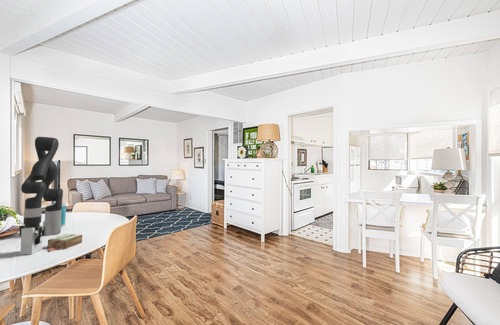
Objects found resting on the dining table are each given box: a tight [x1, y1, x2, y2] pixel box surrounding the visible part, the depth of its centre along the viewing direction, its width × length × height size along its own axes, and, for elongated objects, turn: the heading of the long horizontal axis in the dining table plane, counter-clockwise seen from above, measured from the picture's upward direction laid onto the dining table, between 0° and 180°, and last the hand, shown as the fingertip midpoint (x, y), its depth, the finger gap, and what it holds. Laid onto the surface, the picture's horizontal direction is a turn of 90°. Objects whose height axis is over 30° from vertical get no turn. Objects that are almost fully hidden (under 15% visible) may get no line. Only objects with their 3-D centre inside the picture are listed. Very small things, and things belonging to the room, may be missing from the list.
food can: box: [46, 203, 67, 228], centre depth 181 cm, size 12×12×18 cm
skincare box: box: [19, 224, 43, 256], centre depth 130 cm, size 8×6×15 cm
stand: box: [47, 233, 83, 250], centre depth 142 cm, size 12×12×5 cm
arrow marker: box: [47, 247, 58, 252], centre depth 134 cm, size 6×3×1 cm, turn 175°
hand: (31, 243), depth 130 cm, fingers closed on skincare box, 7 cm apart
